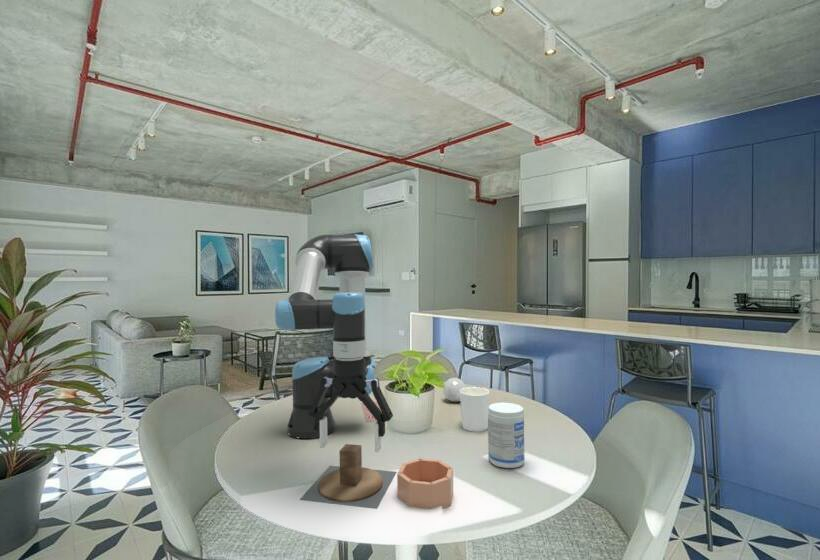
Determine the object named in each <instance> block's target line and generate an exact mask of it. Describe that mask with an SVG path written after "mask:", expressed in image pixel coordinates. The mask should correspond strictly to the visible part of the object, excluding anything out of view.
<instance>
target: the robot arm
mask: <svg viewBox="0 0 820 560" xmlns="http://www.w3.org/2000/svg"><path fill="white" fill-rule="evenodd" d="M373 258H374V257H373V250H372V245H371V241H370V238H369V236H367V235H366V234H356V233H354V234H352V233H351V234H320V235H317V236H314V237H313V238H311V239H309V240H308V241H306V242H305V243H304V244H303V245H302V246H301V247H300V248H299V249H298V251H297V253H296V255H295V260H294V262H295V266H296V267H295V273H294V275H293V280H292V283H291V288H290V289H289V294H288V298H287V299H284V300H278V301H277V302H276V303H275V309H274V310H275V311H274V316H275V319H274V321H275V325H276V327H277V329H279V330H285V331H286V330H289V331H290V330H291V331H297V330H299V331H300V330H301V331H302V330H329V329H330V330H331V329H332V332H333V333H332V334H333V335H332V350H333V351H332V354H333V355H332V356H333V357H334V359H333V361H330V359H329V357H327V356H315V357H309V358H305V359H303V360H300V361H297V362H295V364H294V365H293V366H292V376H291V380H292V410H291V413H290V417H289V420H288V424H287V434H288V433H289V434H290V435H291V436H294V437H299V438H313V439H318V438H317V437H319V448H320V449H324V448H325V447H326V446H327V445H328V435H330V434H332V433H333V432H334V431H335V430H336V421H335V418H334V415H333V411H332V410H331V407H333V405H334V404H335V402H337V400H338V399H340V398H341V399H348V398H349V399H358V400H359V401H360V402H362V404H363V405H364V406H365V407H366V409H367V410H368V411H369V413H370V414H371V415H372V416H373V418H374V419H375V421H376V422H375V423H374V452H375V453H379V451H380V450H381V449H382V438H383V437H384V436H385V434H386V422H390V421H391V419H392V418H393V417H394V414H393V412H392V410H391V408H390V406H389V404H388V402H387V399H386V397H385V395H384V393H383V392H382V391H383V390H382V389H381V387H380V386H381V385H380V380H379V378H378V377H375V370H376V369H375V368H376V361H375V360H374V359H371V358H372V356H371V353H370V352H369V351H368V350H367V333H366V332H367V330H366V329H367V328H366V326H367V324H366V321H367V320H366V314H367V313H366V278H367V277H368V276H369V275H370V270H372V269H374V259H373ZM326 269H327V270H334V275H335V276H336V277H337V278H338V279H339V292H336V293H334V294H333V296H332V299H318V295H319V289H320V283H321V276H322V275H321V274H322V272H323V271H324V270H326ZM371 394H373V397H374V399H375V401H376V402H377V404H376V403H375V402H374V400H373V399H372V398H371V396H370V395H371ZM377 405H378V406H377ZM291 436H290V437H291ZM294 437H293V438H294Z"/></svg>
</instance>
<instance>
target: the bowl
mask: <svg viewBox="0 0 820 560" xmlns="http://www.w3.org/2000/svg"><path fill="white" fill-rule="evenodd" d="M396 474H397V478H396V479H397V480H396V482H397V485H396V486H397V490H396V491H397V497H399V499H401V500H402V501H403V502H404V503H406V504H407V505H408V506H409V507H417V508H425V509H434V508H437V507H439V506H442V507H441V510H442V509H445V508H448V507H451V505H452V502H453V499H454V498H453V497H454V467H452V466H450V465H449V464H447V463H446V462H444V461H443V460H440V459H430V458H429V459H428V458H417V459H414V460H411V461H407V462H403V463H402V464H401V466H400V468H399V469H398V471H397V473H396Z"/></svg>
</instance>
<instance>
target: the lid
mask: <svg viewBox="0 0 820 560" xmlns="http://www.w3.org/2000/svg"><path fill="white" fill-rule="evenodd" d="M362 459H363V457H362V445H361V444H349V443H345V444H344V446H342V448H340V450H339V466H340V469H338V470H335V471H332V472H330V473H328V474H327V475H325V476H324V477H323V478H322V479H321V480H320V482H319V492H320V493H321V495H322V496H324V497H325V498H327V499H330V500H333V501H339V502H353V501H359V500H363V499H366V498H369V497H371V496H373V495H375V494H376V493H377V492H379V491H380V489H381V488H382V485H383V478H382V476H381V475H380V474H379V473H378V472H377V471H375V470H376V469H373V470H372V468H369V467H363V466H362V465H363V462H362Z"/></svg>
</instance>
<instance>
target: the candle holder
mask: <svg viewBox="0 0 820 560" xmlns="http://www.w3.org/2000/svg"><path fill="white" fill-rule="evenodd" d="M490 395H491V394H490V390H489V389H487V388H484V387H481V388H480V387H478V386H477V387H473V386H468V387H467V388H463V389H461V390H460V401H459V403H460V411H461V412H460V414H461V427H462V429H463V430H465V431H468V432H475V433H476V432H478V433H479V432H484V431H486V430H488V408H489V405H490Z"/></svg>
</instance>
